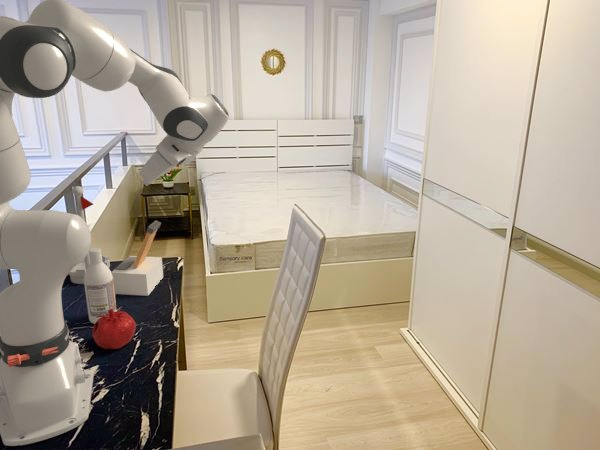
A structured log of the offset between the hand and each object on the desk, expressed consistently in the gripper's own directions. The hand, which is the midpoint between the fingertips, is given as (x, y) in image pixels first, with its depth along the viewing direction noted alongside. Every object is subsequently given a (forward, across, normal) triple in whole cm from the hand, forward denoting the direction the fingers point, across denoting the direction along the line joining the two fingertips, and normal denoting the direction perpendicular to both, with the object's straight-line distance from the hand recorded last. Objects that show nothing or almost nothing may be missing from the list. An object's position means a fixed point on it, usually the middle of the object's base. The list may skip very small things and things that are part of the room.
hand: (146, 182), depth 121 cm
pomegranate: (+27, +21, +24) cm, 42 cm away
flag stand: (+44, -14, +6) cm, 47 cm away
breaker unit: (+31, -9, +19) cm, 38 cm away
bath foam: (+32, +11, +18) cm, 39 cm away
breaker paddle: (+26, -9, +14) cm, 31 cm away
